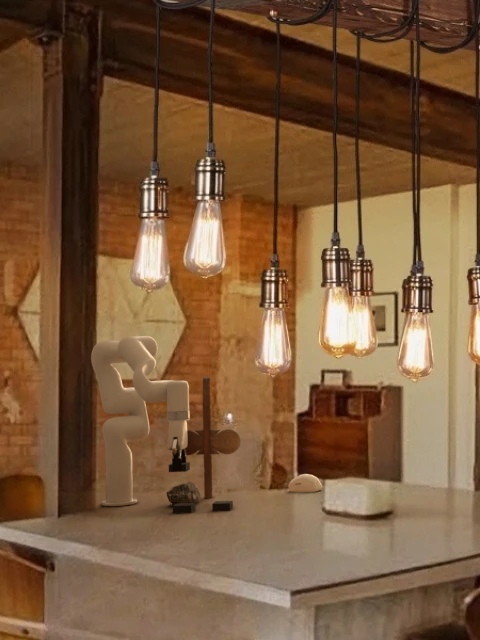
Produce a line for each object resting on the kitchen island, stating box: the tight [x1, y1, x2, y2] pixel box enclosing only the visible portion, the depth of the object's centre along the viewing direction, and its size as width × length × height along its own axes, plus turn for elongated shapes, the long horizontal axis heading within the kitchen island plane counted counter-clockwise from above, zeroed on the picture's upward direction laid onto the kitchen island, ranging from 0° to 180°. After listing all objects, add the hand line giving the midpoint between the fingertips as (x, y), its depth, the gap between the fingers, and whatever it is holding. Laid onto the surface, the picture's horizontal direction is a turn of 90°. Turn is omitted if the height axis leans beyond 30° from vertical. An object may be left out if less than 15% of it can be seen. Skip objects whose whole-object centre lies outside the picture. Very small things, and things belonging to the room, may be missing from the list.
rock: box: [166, 481, 202, 506], centre depth 393 cm, size 18×10×10 cm
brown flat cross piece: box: [185, 376, 241, 499], centre depth 408 cm, size 25×4×45 cm, turn 81°
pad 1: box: [168, 461, 191, 473], centre depth 375 cm, size 6×6×2 cm
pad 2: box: [211, 500, 234, 512], centre depth 376 cm, size 6×6×2 cm
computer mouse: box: [287, 473, 323, 493], centre depth 417 cm, size 6×13×6 cm, turn 75°
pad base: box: [172, 502, 196, 514], centre depth 374 cm, size 6×6×2 cm
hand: (179, 468), depth 375 cm, fingers closed on pad 1, 6 cm apart
